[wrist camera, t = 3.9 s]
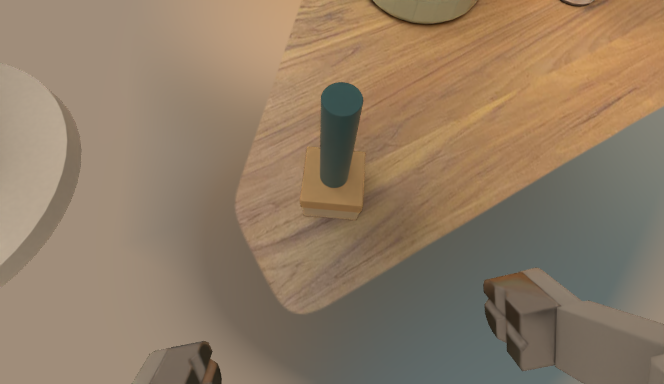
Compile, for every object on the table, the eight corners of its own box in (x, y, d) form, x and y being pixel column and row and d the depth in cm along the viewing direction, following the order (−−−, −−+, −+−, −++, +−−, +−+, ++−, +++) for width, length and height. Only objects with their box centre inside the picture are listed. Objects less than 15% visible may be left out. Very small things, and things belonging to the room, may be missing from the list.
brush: (301, 216, 30) (290, 133, 17) (308, 166, 32) (301, 59, 19) (357, 221, 30) (387, 142, 17) (360, 171, 32) (388, 67, 19)
